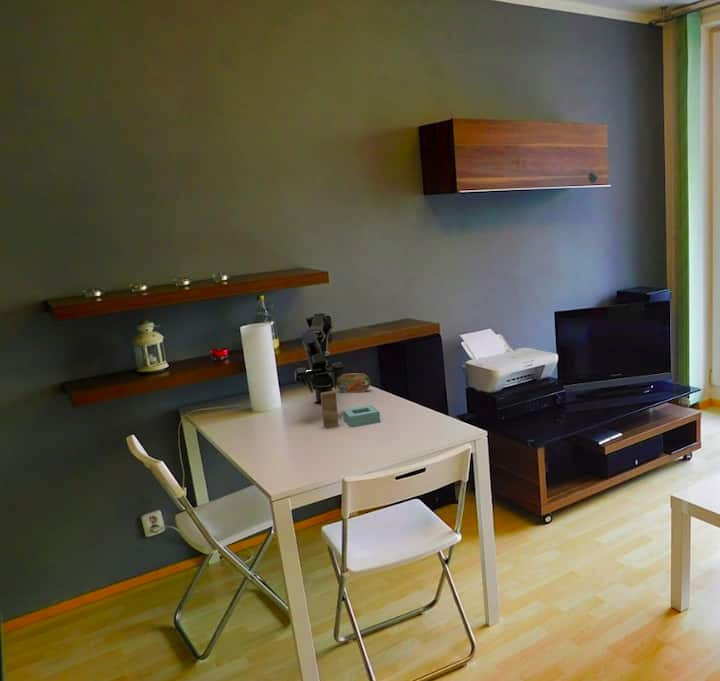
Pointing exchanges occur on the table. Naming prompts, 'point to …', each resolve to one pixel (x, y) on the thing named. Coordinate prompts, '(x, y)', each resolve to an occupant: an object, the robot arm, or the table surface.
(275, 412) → the table surface
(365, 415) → the rectangular frame
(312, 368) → the robot arm
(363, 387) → the tin
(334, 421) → the slat
